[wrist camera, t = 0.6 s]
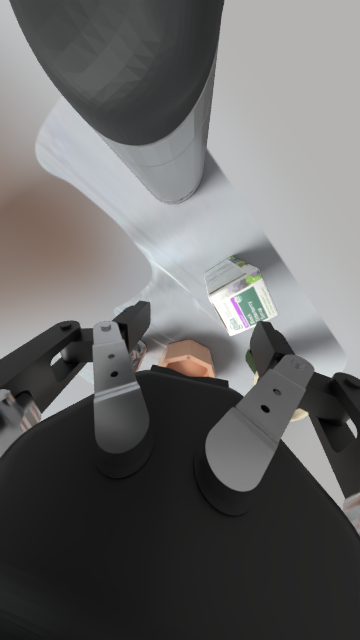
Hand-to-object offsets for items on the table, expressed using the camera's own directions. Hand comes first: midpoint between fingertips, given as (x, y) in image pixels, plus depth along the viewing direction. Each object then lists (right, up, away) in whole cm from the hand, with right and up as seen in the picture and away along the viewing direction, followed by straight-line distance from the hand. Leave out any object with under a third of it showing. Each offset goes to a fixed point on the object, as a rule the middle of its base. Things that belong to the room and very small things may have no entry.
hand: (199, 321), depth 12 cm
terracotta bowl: (0, -10, +27) cm, 28 cm away
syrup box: (+7, +8, +18) cm, 21 cm away
